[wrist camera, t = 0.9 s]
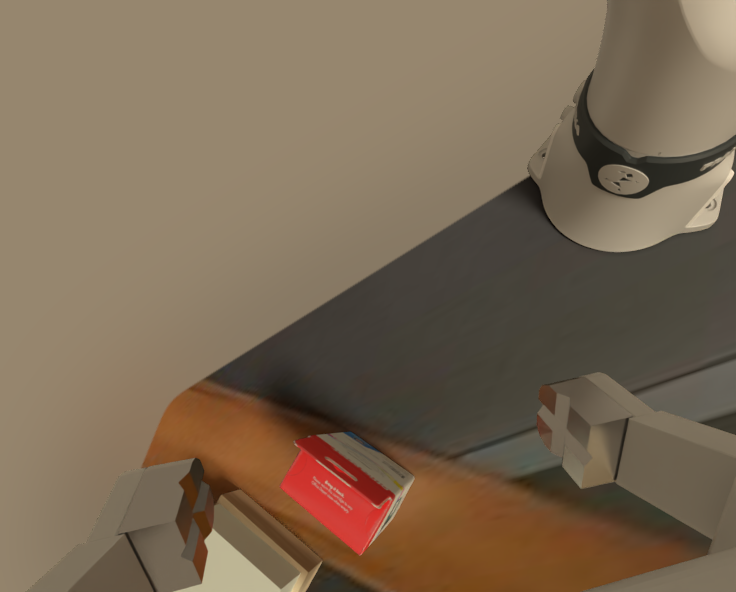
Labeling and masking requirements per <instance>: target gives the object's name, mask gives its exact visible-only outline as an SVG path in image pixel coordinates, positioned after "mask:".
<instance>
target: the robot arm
mask: <svg viewBox="0 0 736 592" xmlns="http://www.w3.org/2000/svg"><path fill="white" fill-rule="evenodd" d="M573 102H574V103H576V106H575V107H571V106H567V107H566V108H565V109H564V111H563V113H562V115H561V119H562V120H563V121H562V123H560V124H557V125H556V126H555V128H554V130H553V132H552V134H551V135H550V137H549V138H548V139H547V140H546V141H545V143H544V144H543V145H542V146H541V147H540V148H539V149H538V151H537V152H536V153H535V154H534V155H533V156H532V158H531V159H530V161H529V164H528V168H527V169H528V172H529V174H530V176H531V177H532V178H533V180H534V181H535V182H536V184H537V185H538V186H539V188H540V191H541V196H542V202H543V206H544V209H545V211H546V213H547V215H548V217H549V219H550V220H551V222H552V223H553V224H554V226H555V227H556V228H557V229H558V230H559V231H560V232H561V233H563V234H564V235H565V236H567V237H568V238H570V239H571V240H573V241H575V242H577V243H579V244H581V245H583V246H586V247H589V248H592V249H596V250H601V251H609V252H627V251H634V250H639V249H643V248H647V247H650V246H652V245H655V244H657V243H659V242H661V241H663V240H665V239H667V238H669V237H671V236H673V235H676V234H679V233H687V232H695V231H700V230H704V229H707V228H709V227H711V226H712V225H713V224H714V222H715V221H716V220H717V218H718V215H719V210H720V205H721V200H722V195H723V190H724V187H725V186H726V184H727V183H728V182H729V181H730V180H731V178H732V176H733V175H734V171H732V170H731V168H732V164H733V160H734V152H735V149H736V0H607V13H606V19H605V25H604V30H603V35H602V40H601V45H600V50H599V53H598V57H597V61H596V65H595V68H594V69H593V71H592V72H591V74H590V75H589V76H588V78H587V80H585V81H583V83H582V84H581V85H580V86H579V88H578V90H577V91H576V93H575V95H574V99H573ZM544 156H545V158H544V159H543V158H542V157H544ZM706 207H707V208H706ZM539 400H540V401H541V402H542V403H543V406H542V408H541V409H540V410H539V412H538V413H537V427H538V431H539V434H540V437H541V439H542V441H543V442H544V444H545V445H546V447H547V448H548V449H549V450H550V452H552V453H554V454H556V455H558V456H560V457H562V466H563V468H564V469H565V470H566V471H567V472H568V474H569V475H570V476H571V477H572V478H573V480H574V481H575V482H576V483H577V484H578V486H579V487H580V488H581V489H583V488H587V487H592V486H597V485H601V484H606V483H610V482H615V481H616V484H618V485H620V486H621V487H623V488H625V489H627V490H628V491H630V492H632V493H633V494H635V495H637V496H639V497H640V498H642V499H644V500H645V501H647V502H649V503H651V504H652V505H654V506H656V507H657V508H659V509H661V510H663V511H664V512H666V513H668V514H669V515H671V516H673V517H675V518H676V519H678V520H680V521H681V522H683V523H685V524H687V525H688V526H690V527H692V528H693V529H695V530H697V531H699V532H700V533H702V534H704V535H705V536H707V537H709V538H711V539H712V543H711V546H710V548H709V551H708V554H707V556H703V557H700V558H697V559H693V560H690V561H686V562H683V563H679V564H676V565H672V566H669V567H665V568H662V569H658V570H655V571H651V572H648V573H644V574H641V575H637V576H634V577H630V578H627V579H624V580H620V581H617V582H613V583H610V584H606V585H603V586H599V587H596V588H592V589H589V590H585V591H582V592H736V435H733V434H730V433H727V432H724V431H721V430H718V429H715V428H712V427H709V426H706V425H703V424H700V423H697V422H694V421H691V420H688V419H685V418H682V417H679V416H676V415H673V414H670V413H666V412H663V411H659V412H655V411H653V410H652V409H651V408H650V407H648V406H647V405H646V404H644V403H643V402H642V401H640V400H639V399H638V398H636V397H635V396H634V395H632V394H631V393H630V392H628V391H627V390H626V389H624V388H623V387H622V386H620V385H619V384H618V383H617V382H615V381H614V380H613V379H611V378H610V377H609V376H607V375H606V374H603V373H600V372H597V373H593V374H589V375H584V376H580V377H578V378H573V379H568V380H563V381H559V382H554V383H550V384H545V385H542V387H541V388H540V390H539ZM203 473H204V469H203V467H202V464H201V462H200V460H199V459H197V458H193V459H187V460H182V461H177V462H171V463H166V464H161V465H155V466H150V467H148V468H142V469H136V470H131V471H125V472H124V473H122V474H121V475H120V476H119V477H118V479H117V481H116V483H115V485H114V487H113V489H112V491H111V493H110V495H109V497H108V499H107V501H106V503H105V505H104V507H103V509H102V511H101V513H100V515H99V517H98V519H97V521H96V523H95V525H94V527H93V529H92V532H91V534H90V536H89V538H88V540H87V542H86V543H83V544H79V545H77V546H76V547H75V548H73V549H72V551H70V552H69V553H68V554H67V555H66V556H65V557H64V558H62V559H61V560H60V561H59V562H58V563H57V564H56V565H55V566H54V567H53V568H51V569H50V570H49V571H48V572H47V573H46V574H45V575H44V576H43V577H42V578H40V579H39V580H38V581H37V582H36V583H35V584H34V585H33V586H32V587H30V589H28V590H27V591H26V592H174V591H178V590H181V589H185V588H189V587H192V586H196V585H199V584H202V581H203V575H204V570H205V565H206V560H207V555H208V550H207V547H206V544H205V542H204V540H205V539H206V538H207V537H208V536H209V534H210V533H211V532H212V528H213V522H214V501H213V495H212V491H211V489H210V486H209V485H208V484H206V483H204V482H203V481H202V478H203Z"/></svg>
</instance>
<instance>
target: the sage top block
mask: <svg viewBox="0 0 736 592" xmlns="http://www.w3.org/2000/svg"><path fill="white" fill-rule="evenodd" d="M204 542H205V544H206V547H207V550H208V555H207V560H206V565H205V570H204V575H203V581H202V584H199V585H196V586H192V587H189V588H185V589H181V590H178V591H174V592H291V591H292V589H293V587H294V585H295V584H296V582H297V580H298V578H299V576H300V574H301V572H299V571H298V570H297V569H296V568H295V567H294V566H292V565H291V564H290V563H289V562H288V561H286V560H285V559H284V558H283V557H282V556H281V555H279V554H278V553H277V552H276V551H275V550H274V549H272V548H271V547H270V546H269V545H268V544H267V543H265V542H264V541H263V540H262V539H261V538H259V537H258V536H257V535H256V534H255V533H254V532H252V531H251V530H250V529H249V528H248V527H247V526H245V525H244V524H243V523H242V522H241V521H240V520H238V519H237V518H236V517H235V516H234V515H232V514H231V513H230V512H229V511H228V510H227V509H225V508H224V507H223V506H222V505H221V504H218V505H215V506H214V522H213V528H212V532H211V533H210V534H209V536H208V537H207V538H206V539H205V540H204Z"/></svg>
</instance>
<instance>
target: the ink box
mask: <svg viewBox="0 0 736 592" xmlns="http://www.w3.org/2000/svg"><path fill="white" fill-rule="evenodd" d="M293 443H294V444H295V445H296V446H297V447H299V448H300V451H299V453H298V455H297V456H296V458H295V460H294V462H293V464H292V465H291V467H290V469H289V470H288V472H287V474H286V476H285V478H284V479H283V481H282V483H281V485H280V488H281V489H282V490H283V491H285V492H286V493H287V494H288V495H289V496H290V497H291V498H293V499H294V500H295V501H296V502H297V503H298V504H300V505H301V506H302V507H303V508H304V509H306V510H307V511H308V512H309V513H310V514H311V515H313V516H314V517H315V518H316V519H317V520H318V521H320V522H321V523H322V524H323V525H324V526H325V527H327V528H328V529H329V530H330V531H331V532H332V533H334V534H335V535H336V536H337V537H338V538H340V539H341V540H342V541H343V542H344V543H346V544H347V545H348V546H349V547H350V548H352V549H353V550H354V551H355V552H356V553H357V554H359V555H361V554H362V553H363V552H364V551H365V550H366V549H367V548H368V547H369V545H370V544H371V543H372V542H373V541H374V540H375V539H376V537H377V536H378V535H379V534H380V533H381V532H382V531H383V530H384V529H385V527H386V526H387V525H388V524H389V523H390V521H391V520H392V519H393V518H394V516H395V514H396V513H397V511H398V509H399V507H400V505H401V503H402V501H403V499H404V497H405V496H406V494H407V492H408V490H409V488H410V486H411V484H412V483H413V481H414V478H415V477H414V476H413V475H412V474H411V473H409V472H408V471H406V470H405V469H403V468H402V467H401V466H399V465H398V464H396V463H395V462H393V461H392V460H391V459H389V458H388V457H386V456H385V455H383V454H382V453H381V452H379V451H378V450H376V449H375V448H374V447H372V446H371V445H369V444H368V443H366V442H365V441H364V440H362V439H361V438H359V437H358V436H356V435H355V434H354V433H352V432H341V433H331V434H320V435H310V436H308V437H307V438H302V439H298V440H294V442H293Z"/></svg>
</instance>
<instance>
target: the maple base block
mask: <svg viewBox="0 0 736 592" xmlns="http://www.w3.org/2000/svg"><path fill="white" fill-rule="evenodd" d="M218 504H221V505H222V506H223V507H224V508H225V509H227V510H228V511H229V512H230V513H231V514H232V515H234V516H235V517H236V518H237V519H238V520H240V521H241V522H242V523H243V524H244V525H245V526H247V527H248V528H249V529H250V530H251V531H252V532H254V533H255V534H256V535H257V536H258V537H259V538H261V539H262V540H263V541H264V542H265V543H267V544H268V545H269V546H270V547H271V548H272V549H274V550H275V551H276V552H277V553H278V554H279V555H281V556H282V557H283V558H284V559H285V560H286V561H288V562H289V563H290V564H291V565H292V566H294V567H295V568H296V569H297V570H298V571H299V572H301V574H300V576H299V578H298V580H297V582H296V584H295V585H294V587H293V589H292V591H291V592H306V590H307V588H308V587H309V585H310V583H311V581H312V579H313V577H314V576H315V574H316V572H317V570H318V568H319V566H320V565H321V563H322V561H323V560H322V559H321V558H320V557H319V556H317V555H316V554H315V553H314V552H313V551H312V550H310V549H309V548H308V547H307V546H306V545H305V544H303V543H302V542H301V541H300V540H299V539H298V538H296V537H295V536H294V535H293V534H292V533H291V532H290V531H288V530H287V529H286V528H285V527H284V526H283V525H281V524H280V523H279V522H278V521H277V520H276V519H274V518H273V517H272V516H271V515H270V514H269V513H267V512H266V511H265V510H264V509H263V508H262V507H261V506H259V505H258V504H257V503H256V502H255V501H254V500H252V499H251V498H250V497H249V496H248V495H247V494H245V493H244V492H243V491H242V490H241V489H239V490H236V491H232V492H229V493H225V494H222V495H221V496H220V498H219V500H218V501H217V503H216V505H218Z"/></svg>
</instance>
